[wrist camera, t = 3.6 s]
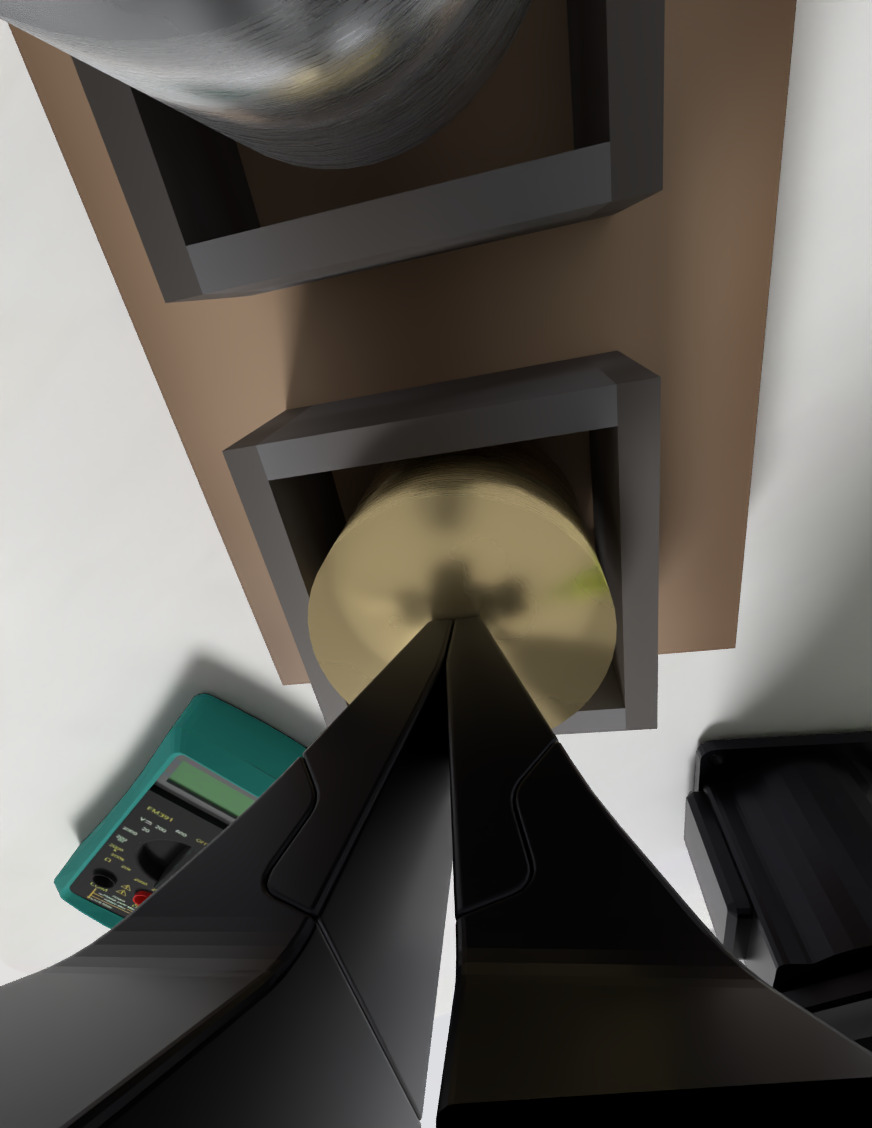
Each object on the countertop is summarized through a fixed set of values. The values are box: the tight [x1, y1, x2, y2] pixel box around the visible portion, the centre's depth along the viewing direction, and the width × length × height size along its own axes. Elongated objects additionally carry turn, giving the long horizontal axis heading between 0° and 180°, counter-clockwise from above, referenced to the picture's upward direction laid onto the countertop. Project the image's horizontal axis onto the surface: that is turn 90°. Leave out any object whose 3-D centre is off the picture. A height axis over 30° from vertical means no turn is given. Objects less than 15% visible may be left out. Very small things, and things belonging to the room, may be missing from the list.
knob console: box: [8, 0, 796, 735], centre depth 10 cm, size 12×17×6 cm
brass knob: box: [308, 440, 617, 729], centre depth 10 cm, size 5×5×4 cm
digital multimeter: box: [54, 694, 306, 929], centre depth 23 cm, size 7×15×3 cm, turn 141°
